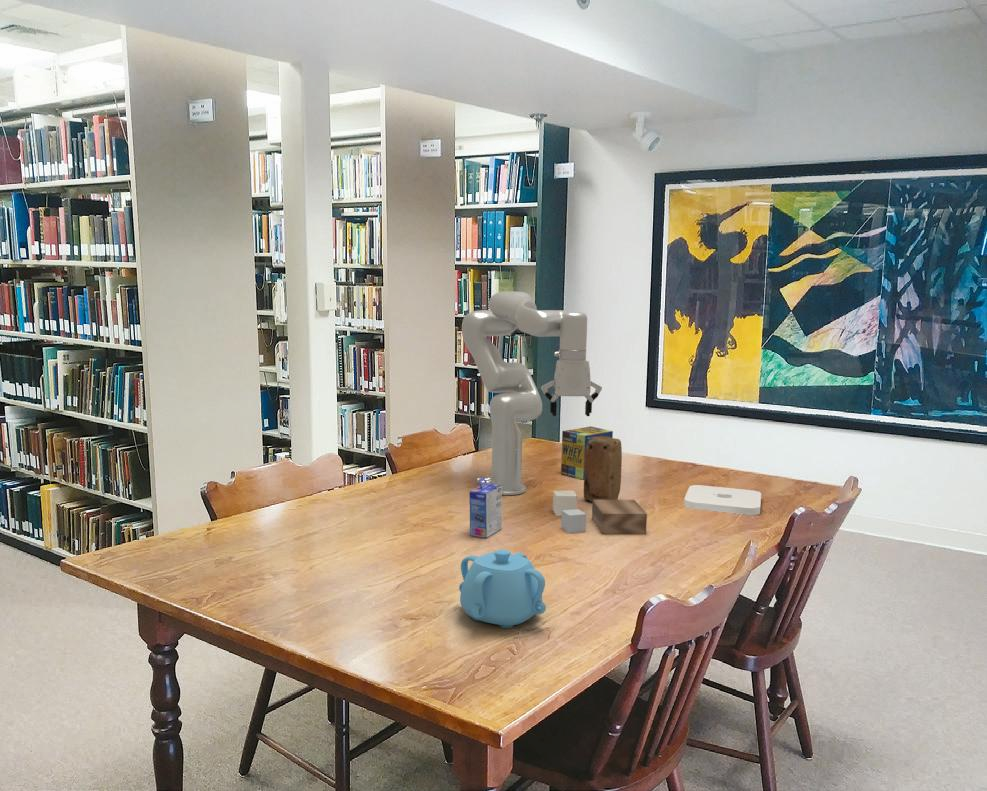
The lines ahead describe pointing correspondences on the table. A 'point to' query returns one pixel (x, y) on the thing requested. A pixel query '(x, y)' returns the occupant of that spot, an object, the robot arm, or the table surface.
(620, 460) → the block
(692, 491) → the computer
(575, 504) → the cream block
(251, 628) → the table surface
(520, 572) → the decorative pot
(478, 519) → the ink cartridge box
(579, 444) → the protein box
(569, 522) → the grey block
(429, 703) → the table surface
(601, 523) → the walnut block
